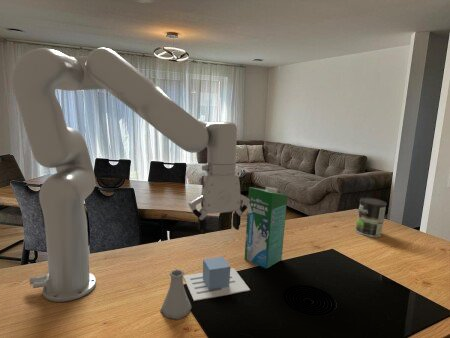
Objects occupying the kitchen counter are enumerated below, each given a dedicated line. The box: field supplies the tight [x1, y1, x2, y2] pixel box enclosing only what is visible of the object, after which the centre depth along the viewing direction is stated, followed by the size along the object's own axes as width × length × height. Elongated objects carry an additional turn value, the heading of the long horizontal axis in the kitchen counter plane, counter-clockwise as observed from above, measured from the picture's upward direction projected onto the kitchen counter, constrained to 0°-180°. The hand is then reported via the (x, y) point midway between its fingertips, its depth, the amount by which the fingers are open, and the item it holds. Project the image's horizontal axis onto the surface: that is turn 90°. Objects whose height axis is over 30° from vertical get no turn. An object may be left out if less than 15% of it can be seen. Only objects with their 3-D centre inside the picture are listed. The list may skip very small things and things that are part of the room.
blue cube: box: [202, 256, 231, 290], centre depth 84 cm, size 6×6×6 cm
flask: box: [159, 269, 193, 320], centre depth 72 cm, size 7×7×10 cm
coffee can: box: [355, 197, 387, 238], centre depth 127 cm, size 10×10×14 cm
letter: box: [183, 267, 251, 302], centre depth 85 cm, size 16×12×1 cm
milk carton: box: [244, 186, 288, 270], centre depth 98 cm, size 9×9×25 cm
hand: (219, 230), depth 82 cm, fingers open, 9 cm apart
